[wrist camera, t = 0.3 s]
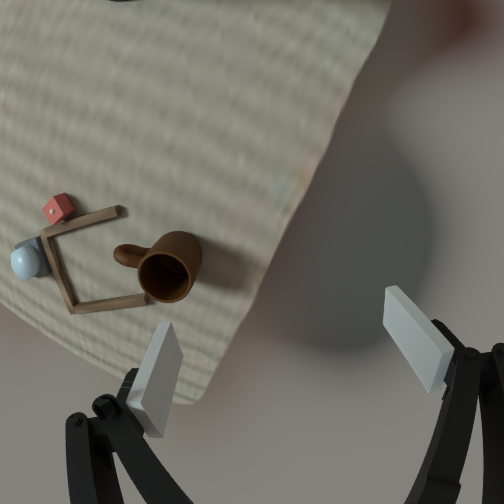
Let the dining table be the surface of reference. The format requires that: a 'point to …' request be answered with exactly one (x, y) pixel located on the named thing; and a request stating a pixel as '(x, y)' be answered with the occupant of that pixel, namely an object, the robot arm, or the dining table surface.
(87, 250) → the dining table surface
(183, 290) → the mug
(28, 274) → the dome
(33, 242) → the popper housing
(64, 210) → the die
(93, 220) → the bay
